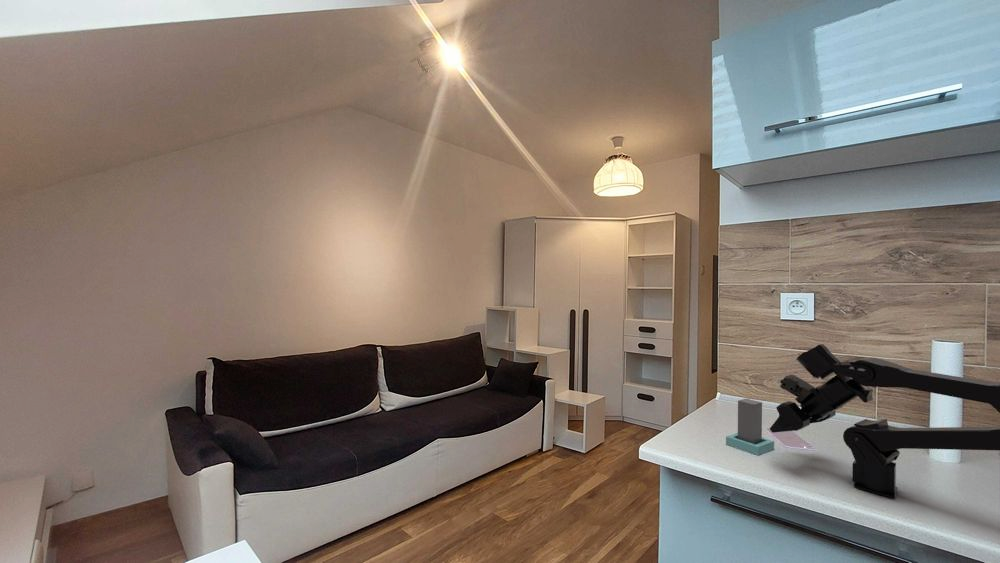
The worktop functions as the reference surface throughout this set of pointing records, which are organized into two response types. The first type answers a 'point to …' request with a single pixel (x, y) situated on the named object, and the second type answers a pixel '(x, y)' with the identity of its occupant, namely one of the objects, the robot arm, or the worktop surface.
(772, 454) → the worktop surface
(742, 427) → the grey rectangular block
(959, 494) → the worktop surface
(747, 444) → the socket block
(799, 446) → the mobile phone
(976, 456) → the worktop surface
